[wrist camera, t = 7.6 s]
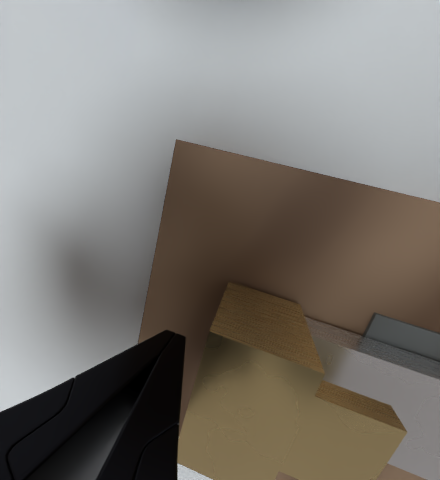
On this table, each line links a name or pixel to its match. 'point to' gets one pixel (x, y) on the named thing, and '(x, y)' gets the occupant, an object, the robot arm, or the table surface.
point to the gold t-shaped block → (277, 402)
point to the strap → (388, 389)
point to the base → (292, 255)
